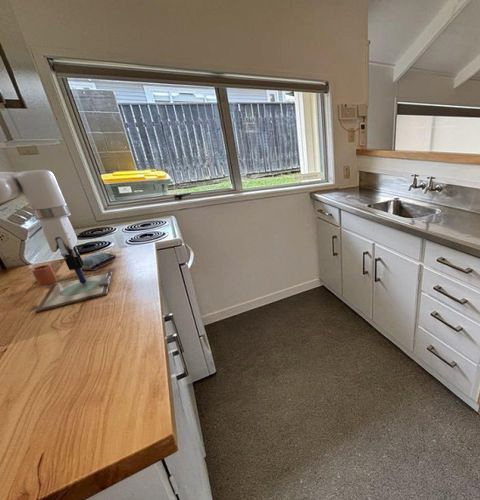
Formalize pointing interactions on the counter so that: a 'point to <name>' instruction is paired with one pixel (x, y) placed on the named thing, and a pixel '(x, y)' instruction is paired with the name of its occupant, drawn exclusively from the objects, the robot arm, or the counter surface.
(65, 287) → the clipboard
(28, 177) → the robot arm
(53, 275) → the pen cup
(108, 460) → the counter surface
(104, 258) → the packaged food
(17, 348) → the counter surface
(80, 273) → the pen
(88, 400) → the counter surface
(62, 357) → the counter surface
